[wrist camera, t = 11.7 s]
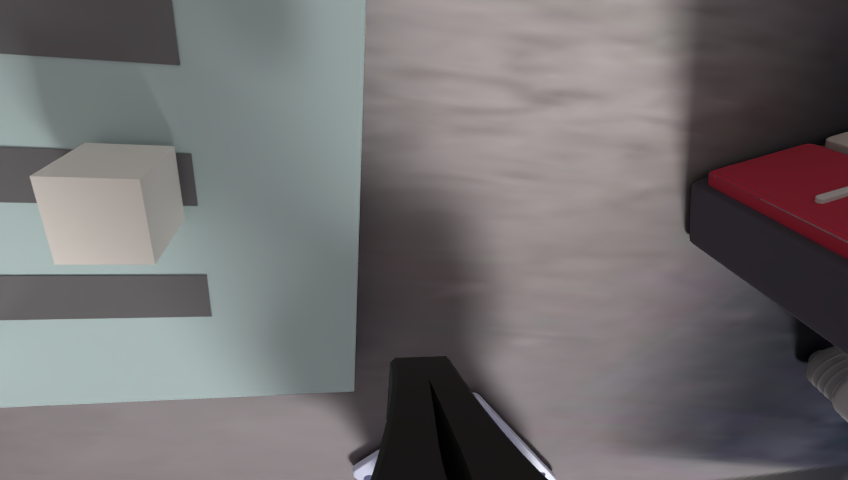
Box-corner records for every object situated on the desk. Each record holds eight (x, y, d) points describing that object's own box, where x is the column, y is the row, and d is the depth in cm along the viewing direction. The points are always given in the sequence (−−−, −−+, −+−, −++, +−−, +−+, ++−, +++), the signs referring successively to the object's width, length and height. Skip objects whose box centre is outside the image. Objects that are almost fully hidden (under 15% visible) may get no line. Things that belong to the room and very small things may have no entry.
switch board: (363, -26, 16) (366, -28, 14) (353, 360, 23) (354, 392, 21) (-429, -106, 12) (-558, -122, 11) (-155, 378, 20) (-205, 417, 18)
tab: (174, 146, 15) (139, 179, 13) (184, 219, 16) (154, 264, 14) (85, 143, 15) (28, 176, 12) (101, 218, 16) (54, 264, 13)
